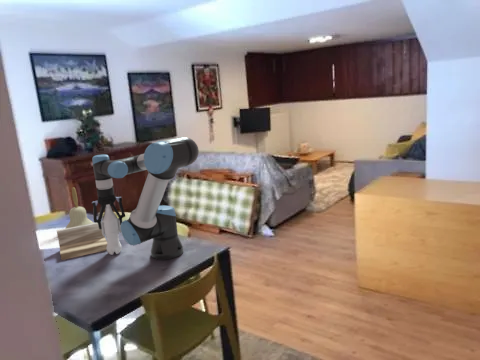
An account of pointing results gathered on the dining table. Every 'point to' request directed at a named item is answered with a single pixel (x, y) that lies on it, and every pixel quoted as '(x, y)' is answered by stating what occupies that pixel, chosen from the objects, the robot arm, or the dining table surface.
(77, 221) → the handbell
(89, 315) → the dining table surface
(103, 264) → the dining table surface
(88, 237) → the board
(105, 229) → the water bottle
